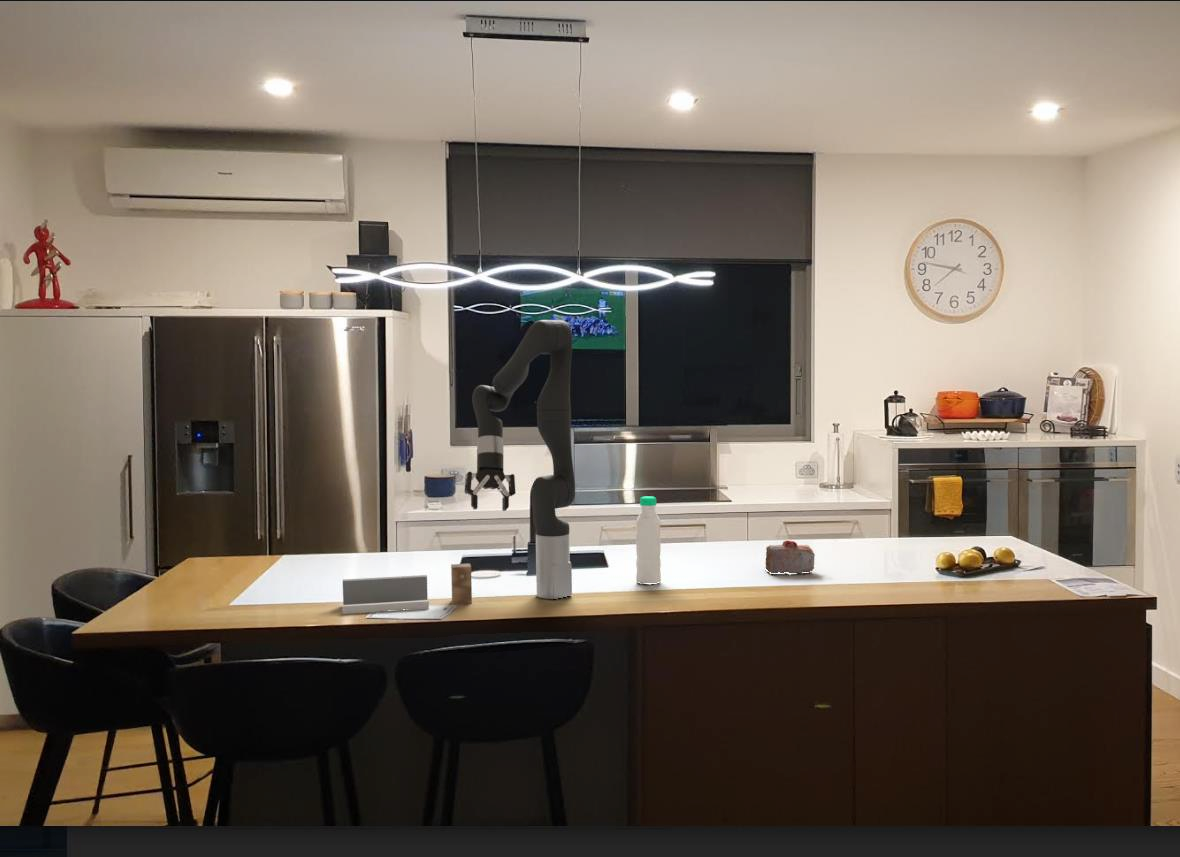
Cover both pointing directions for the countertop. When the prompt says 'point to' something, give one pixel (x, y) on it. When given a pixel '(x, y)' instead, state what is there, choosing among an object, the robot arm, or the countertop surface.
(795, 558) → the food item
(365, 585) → the grey display ledge
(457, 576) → the walnut cabinet block
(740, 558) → the countertop surface
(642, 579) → the water bottle
